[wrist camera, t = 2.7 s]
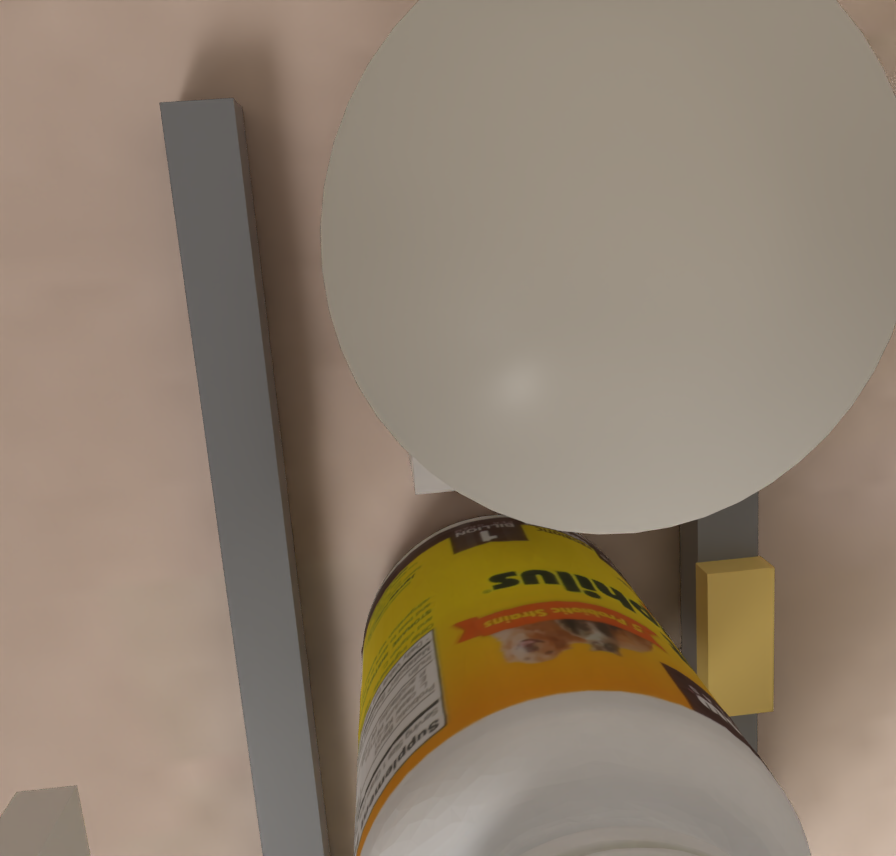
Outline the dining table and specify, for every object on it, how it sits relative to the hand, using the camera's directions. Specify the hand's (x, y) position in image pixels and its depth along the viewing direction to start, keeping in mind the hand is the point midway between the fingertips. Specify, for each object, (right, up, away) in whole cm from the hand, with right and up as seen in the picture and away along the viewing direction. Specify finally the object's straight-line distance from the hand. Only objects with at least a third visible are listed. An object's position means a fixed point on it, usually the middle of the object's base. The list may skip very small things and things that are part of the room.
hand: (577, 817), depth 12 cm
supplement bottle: (-1, +1, +6) cm, 6 cm away
